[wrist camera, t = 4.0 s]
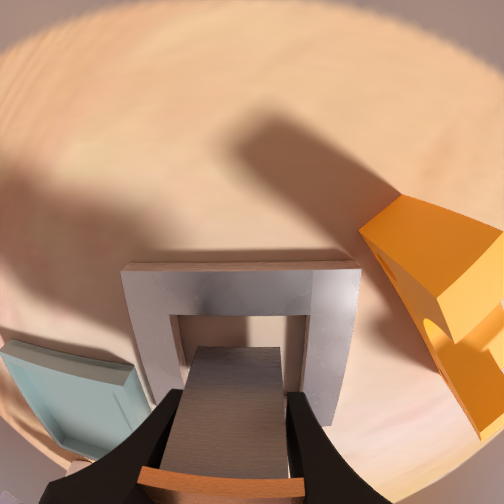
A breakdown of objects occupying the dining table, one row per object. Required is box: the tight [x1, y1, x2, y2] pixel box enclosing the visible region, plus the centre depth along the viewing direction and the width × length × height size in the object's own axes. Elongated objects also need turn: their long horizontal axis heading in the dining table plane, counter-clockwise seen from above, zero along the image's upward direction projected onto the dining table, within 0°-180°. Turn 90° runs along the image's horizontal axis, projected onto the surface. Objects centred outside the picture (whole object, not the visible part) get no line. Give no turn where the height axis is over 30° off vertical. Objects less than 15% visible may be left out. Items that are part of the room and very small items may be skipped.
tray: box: [0, 339, 152, 461], centre depth 15 cm, size 12×12×2 cm
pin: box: [137, 346, 305, 504], centre depth 9 cm, size 4×4×7 cm
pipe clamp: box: [358, 194, 504, 442], centre depth 9 cm, size 12×4×6 cm, turn 40°
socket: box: [120, 260, 362, 427], centre depth 13 cm, size 10×10×1 cm
